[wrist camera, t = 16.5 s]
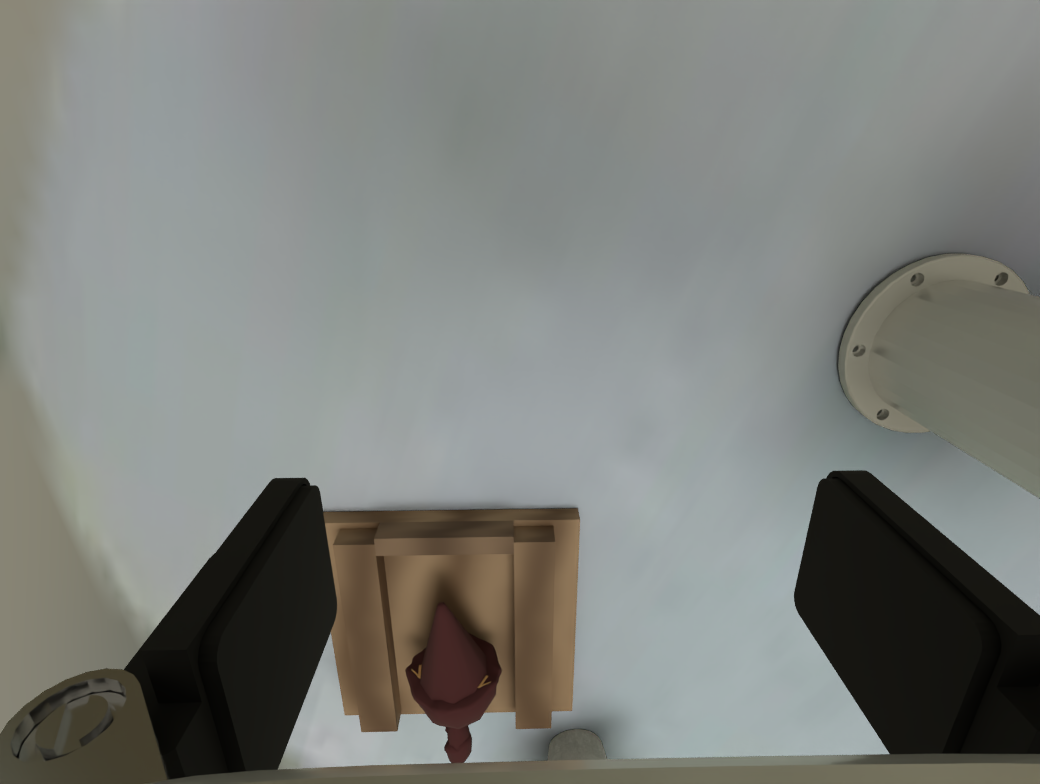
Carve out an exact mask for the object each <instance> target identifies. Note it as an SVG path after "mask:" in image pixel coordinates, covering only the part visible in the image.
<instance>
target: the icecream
mask: <svg viewBox="0 0 1040 784" xmlns="http://www.w3.org/2000/svg"><path fill="white" fill-rule="evenodd" d="M405 671H406V676H407V679H408V682H409V685H410V689H411V694H412V696H413V699H414V700H415V701H416V702H417V703H418V704H419V706H420V707H421V708H422V709H423V711H424V712H425V713H426V714H427V716H428V717H429V718H430V720H431V721H432V722H433V723H435V724H437V725H439V726H445V727H446V729H445V731H446V732H447V733H448V741H447V743H446V745H445V747H444V749H445V751H446V753H447V755H448V758H449V761H450V762H451V763H464V762H465V761H466V759H467V758H468V756H469V755H470V753H471V747H472V737H471V734H470V732H469V728H468V725H469V724H471V723H474V722H476V721H478V720H480V718H481V717H482V715H483V714H484V712H485V711H486V709H487V708H488V706H489V705H490V703H491V702H492V700H493V699H494V697H495V695H496V687H497V684H498V682H499V677H500V675H501V673H502V669H501V666H500V664H499V662H498V658H497V654H496V650H495V648H494V646H493V645H492V644H490V643H489V642H487V641H484V640H482V639H479V638H477V637H476V636H474V635H472V634H470V633H469V632H467V631H466V630H465V628H464V627H463V626H462V625H461V623H460V622H459V621H458V620H457V618H456V617H455V616H454V614H453V613H452V612H451V610H450V609H449V608H448V607H447V605H446V604H445V603H444V602H440V603H438V605H437V608H436V611H435V615H434V619H433V623H432V627H431V631H430V634H429V638H428V642H427V646H426V648H425V649H424V650H423V651H421V652H420V653H418V654H416V655H415V656H414V657H413V659H412V663H411V664H410V665H409V666H408V667H407V668H406V670H405Z"/></svg>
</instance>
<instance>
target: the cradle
mask: <svg viewBox="0 0 1040 784" xmlns="http://www.w3.org/2000/svg"><path fill="white" fill-rule="evenodd" d="M323 514H324V521H325V527H326V533H327V540H328V546H329V552H330V559H331V565H332V571H333V578H334V584H335V590H336V597H337V614H336V619H335V622H334V625H333V627H332V630H331V635H332V641H333V647H334V653H335V659H336V665H337V671H338V677H339V683H340V689H341V695H342V701H343V707H344V713H345V715H359V719H360V725H361V732H387V731H397V730H398V725H399V720H400V715H401V714H426V713H425V712H424V711H423V709H422V708H421V707H420V706H419V704H418V703H417V702H416V701H415V700H414V699H413V696H412V694H411V689H410V685H409V682H408V679H407V676H406V671H405V670H406V668H407V667H408V666H409V665H410V664H411V663H412V659H413V657H414V656H415V655H416V654H418V653H420V652H421V651H423V650H424V649H425V648H426V646H427V642H428V638H429V634H430V631H431V627H432V623H433V619H434V615H435V611H436V608H437V605H438V603H440V602H444V603H445V604H446V605H447V607H448V608H449V609H450V610H451V612H452V613H453V614H454V616H455V617H456V618H457V620H458V621H459V622H460V623H461V625H462V626H463V627H464V628H465V630H466V631H467V632H469V633H470V634H472V635H474V636H476V637H477V638H479V639H482V640H484V641H487V642H489V643H490V644H492V645H493V646H494V648H495V650H496V654H497V658H498V662H499V664H500V666H501V669H502V673H501V675H500V677H499V682H498V684H497V687H496V695H495V697H494V699H493V700H492V702H491V703H490V705H489V706H488V708H487V709H486V711H485V712H484V713H486V712H516V729H538V728H551V713H552V711H572V701H573V677H574V652H575V628H576V604H577V580H578V555H579V531H580V517H579V512H578V508H570V509H499V510H428V511H357V512H323Z"/></svg>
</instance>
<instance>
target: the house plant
mask: <svg viewBox="0 0 1040 784" xmlns="http://www.w3.org/2000/svg"><path fill="white" fill-rule="evenodd" d="M603 759H607V757H606V754H605V751H604V748H603V745H602V742H601V740H600V739H599V737H598V736H597V735H595V734H594V733H592V732H590V731H587V730H582V729H572V730H567V731H564V732H561V733H560V734H558V735H557V736H555V737H554V738H553V739H552V740H551V742H550V744H549V751H548V761H557V760H603Z"/></svg>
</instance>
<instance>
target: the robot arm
mask: <svg viewBox="0 0 1040 784" xmlns="http://www.w3.org/2000/svg"><path fill="white" fill-rule="evenodd" d="M838 369H839V376H840V382H841V385H842V388H843V390H844V393H845V395H846V397H847V398H848V400H849V401H850V402H851V404H852V405H853V407H854V408H855V409H856V410H858V411H859V412H860V413H861V414H862V415H863V416H865V417H866V418H868V419H869V420H871V421H872V422H873V423H875V424H877V425H879V426H882V427H884V428H887V429H889V430H893V431H899V432H905V433H924V432H929V431H932V432H933V433H935V434H936V435H938V436H940V437H941V438H943V439H944V440H946V441H948V442H949V443H951V444H952V445H954V446H956V447H957V448H959V449H960V450H962V451H964V452H965V453H967V454H968V455H970V456H972V457H973V458H975V459H977V460H978V461H980V462H981V463H983V464H985V465H986V466H988V467H989V468H991V469H993V470H994V471H996V472H997V473H999V474H1001V475H1002V476H1004V477H1005V478H1007V479H1009V480H1010V481H1012V482H1013V483H1015V484H1017V485H1018V486H1020V487H1022V488H1023V489H1025V490H1026V491H1028V492H1030V493H1031V494H1033V495H1034V496H1036V497H1038V498H1039V499H1040V297H1038V296H1034V295H1030V293H1029V291H1028V289H1027V288H1026V286H1025V284H1024V282H1023V281H1022V280H1021V279H1020V278H1019V276H1018V275H1017V274H1016V273H1015V272H1014V271H1013V270H1011V269H1010V268H1008V267H1007V266H1005V265H1003V264H1002V263H1000V262H998V261H995V260H992V259H989V258H986V257H982V256H976V255H970V254H943V255H938V256H932V257H928V258H925V259H922V260H920V261H917V262H914V263H912V264H909V265H907V266H906V267H904V268H902V269H900V270H899V271H897V272H895V273H893V274H892V275H890V276H889V277H888V278H887V279H885V280H884V281H883V282H882V283H880V284H879V285H878V286H877V287H875V289H874V290H873V291H872V292H871V293H870V294H869V295H868V296H867V297H866V298H865V299H864V300H863V301H862V303H861V304H860V306H859V307H858V309H857V310H856V312H855V313H854V315H853V316H852V318H851V320H850V322H849V324H848V326H847V328H846V330H845V333H844V335H843V339H842V343H841V346H840V350H839V363H838ZM794 601H795V606H796V609H797V611H798V613H799V615H800V617H801V618H802V620H803V621H804V623H805V624H806V626H807V627H808V629H809V630H810V632H811V634H812V635H813V637H814V638H815V640H816V641H817V643H818V644H819V646H820V647H821V649H822V650H823V652H824V653H825V655H826V657H827V658H828V660H829V661H830V663H831V664H832V666H833V667H834V669H835V670H836V672H837V673H838V675H839V677H840V678H841V680H842V681H843V683H844V684H845V686H846V687H847V689H848V690H849V692H850V693H851V695H852V696H853V698H854V700H855V701H856V703H857V704H858V706H859V707H860V709H861V710H862V712H863V713H864V715H865V716H866V718H867V719H868V721H869V723H870V724H871V726H872V727H873V729H874V730H875V732H876V733H877V735H878V736H879V738H880V739H881V741H882V743H883V744H884V746H885V747H886V749H887V750H888V752H889V753H890V754H881V755H813V756H749V757H698V758H649V759H603V760H557V761H518V762H481V763H444V764H406V765H370V766H347V767H325V768H302V769H280V770H278V767H279V764H280V762H281V759H282V757H283V754H284V752H285V749H286V746H287V744H288V741H289V739H290V736H291V733H292V731H293V728H294V726H295V723H296V720H297V718H298V715H299V713H300V710H301V708H302V705H303V702H304V700H305V697H306V695H307V692H308V689H309V687H310V684H311V682H312V679H313V676H314V674H315V671H316V669H317V666H318V664H319V661H320V658H321V656H322V653H323V651H324V648H325V645H326V643H327V640H328V638H329V635H330V632H331V630H332V627H333V625H334V622H335V619H336V614H337V597H336V590H335V584H334V578H333V571H332V565H331V559H330V552H329V546H328V540H327V533H326V527H325V521H324V514H323V508H322V502H321V496H320V491H319V488H318V487H317V486H310V483H309V481H308V480H307V479H306V478H275V479H272V480H271V481H270V482H269V484H268V485H267V486H266V488H265V489H264V490H263V492H262V493H261V494H260V495H259V497H258V498H257V499H256V501H255V502H254V503H253V505H252V506H251V507H250V509H249V510H248V511H247V512H246V514H245V515H244V516H243V518H242V519H241V520H240V522H239V523H238V524H237V525H236V527H235V528H234V529H233V531H232V532H231V533H230V535H229V536H228V537H227V539H226V540H225V541H224V542H223V544H222V545H221V546H220V548H219V549H218V550H217V552H216V553H215V554H214V555H213V556H212V557H211V558H209V560H208V561H207V562H206V564H205V565H204V566H203V567H202V569H201V570H200V571H199V573H198V574H197V575H196V577H195V578H194V579H193V580H192V582H191V583H190V584H189V586H188V587H187V588H186V590H185V591H184V592H183V593H182V595H181V596H180V597H179V599H178V600H177V601H176V602H175V604H174V605H173V606H172V608H171V609H170V610H169V612H168V613H167V614H166V615H165V617H164V618H163V619H162V621H161V622H160V623H159V625H158V626H157V627H156V628H155V630H154V631H153V632H152V634H151V635H150V636H149V638H148V639H147V640H146V641H145V643H144V644H143V645H142V647H141V648H140V649H139V650H138V652H137V653H136V654H135V656H134V657H133V658H132V660H131V661H130V662H129V664H128V665H127V666H126V668H125V669H124V670H122V669H108V668H106V669H100V670H95V671H89V672H85V673H82V674H80V675H77V676H74V677H72V678H69V679H66V680H64V681H62V682H60V683H58V684H57V685H55V686H53V687H51V688H49V689H47V690H45V691H44V692H42V693H41V694H40V695H38V696H37V697H35V698H34V699H33V700H32V701H30V702H29V703H27V704H26V705H25V706H23V708H21V709H20V711H18V712H17V714H15V715H14V717H12V718H11V720H9V721H8V723H7V724H6V726H5V727H4V729H3V730H2V732H1V733H0V784H1040V615H1039V614H1037V613H1036V612H1035V611H1034V610H1033V609H1031V608H1030V607H1029V606H1028V605H1027V604H1026V603H1024V602H1023V601H1022V600H1021V599H1020V598H1018V597H1017V596H1016V595H1015V594H1014V593H1012V592H1011V591H1010V590H1009V589H1008V588H1006V587H1005V586H1004V585H1003V584H1002V583H1001V582H999V581H998V580H997V579H996V578H995V577H993V576H992V575H991V574H990V573H989V572H987V571H986V570H985V569H984V568H983V567H981V566H980V565H979V564H978V563H977V562H976V561H974V560H973V559H972V558H971V557H970V556H968V555H967V554H966V553H965V552H964V551H962V550H961V549H960V548H959V547H958V546H957V545H955V544H954V543H953V542H952V541H951V540H949V539H948V538H947V537H946V536H945V535H943V534H942V533H941V532H940V531H939V530H937V529H936V528H935V527H934V526H933V525H932V524H930V523H929V522H928V521H927V520H926V519H924V518H923V517H922V516H921V515H920V514H918V513H917V512H916V511H915V510H914V509H912V508H911V507H910V506H909V505H908V504H907V503H905V502H904V501H903V500H902V499H901V498H899V497H898V496H897V495H896V494H895V493H893V492H892V491H891V490H890V489H889V488H887V487H886V486H885V485H884V484H883V483H882V482H880V481H879V480H878V479H877V478H876V477H874V476H873V475H872V474H871V473H869V472H867V471H862V470H860V471H832V472H830V473H829V475H828V476H827V478H826V479H822V480H821V481H820V482H819V484H818V487H817V492H816V496H815V501H814V505H813V510H812V514H811V519H810V523H809V528H808V533H807V537H806V542H805V546H804V551H803V555H802V560H801V564H800V569H799V573H798V578H797V582H796V587H795V592H794Z"/></svg>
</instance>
